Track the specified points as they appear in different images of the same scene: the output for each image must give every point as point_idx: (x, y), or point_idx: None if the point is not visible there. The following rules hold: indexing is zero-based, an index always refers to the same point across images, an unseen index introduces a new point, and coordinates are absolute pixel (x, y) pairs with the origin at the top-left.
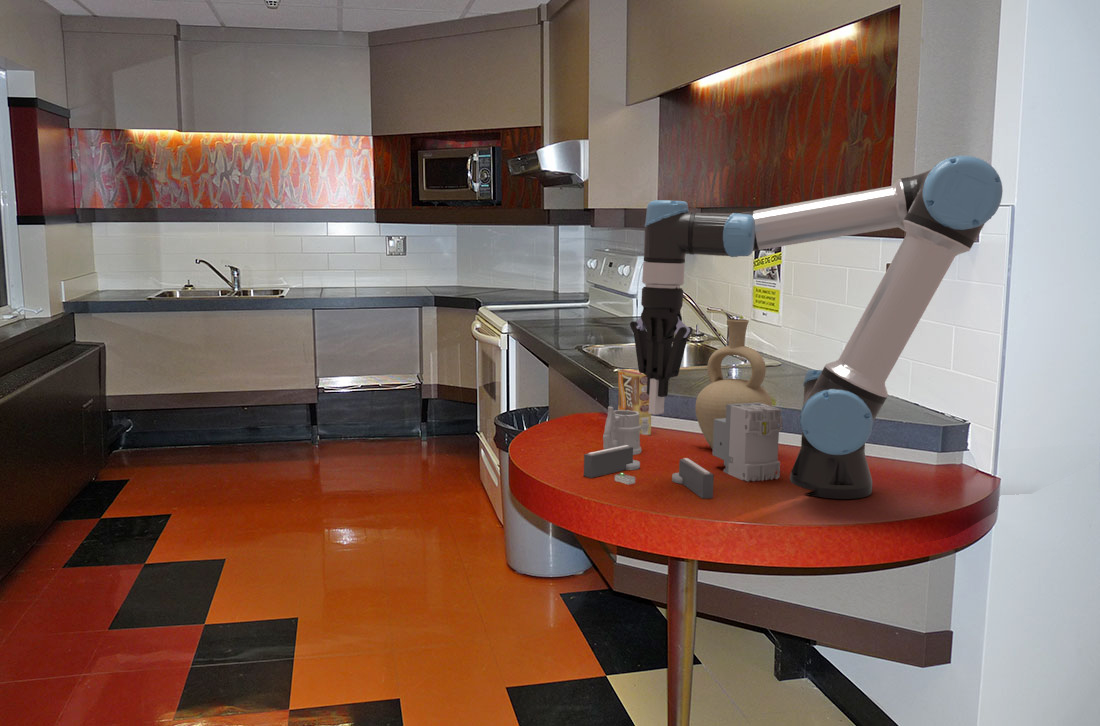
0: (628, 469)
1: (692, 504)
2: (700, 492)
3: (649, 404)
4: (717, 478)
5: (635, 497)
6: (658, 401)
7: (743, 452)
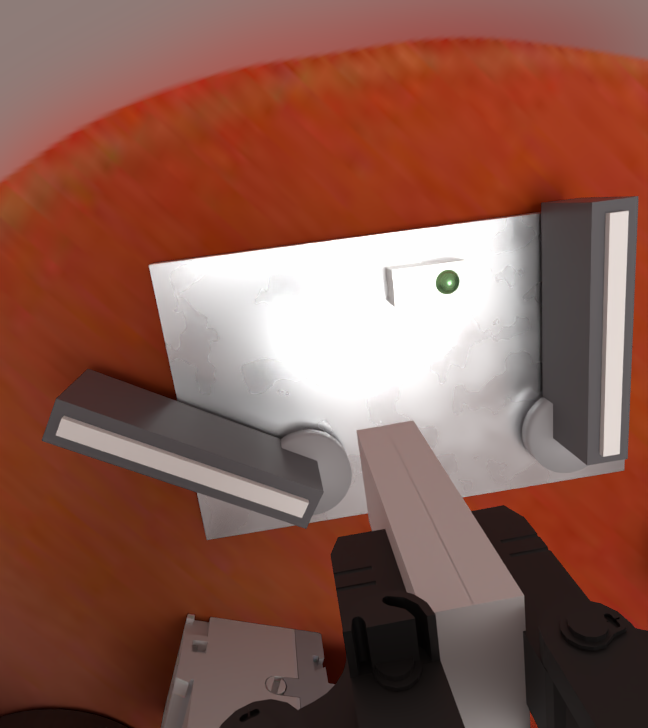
0: (536, 402)
1: (126, 345)
2: (102, 380)
3: (425, 450)
4: (329, 617)
5: (305, 230)
6: (377, 512)
7: (199, 718)
